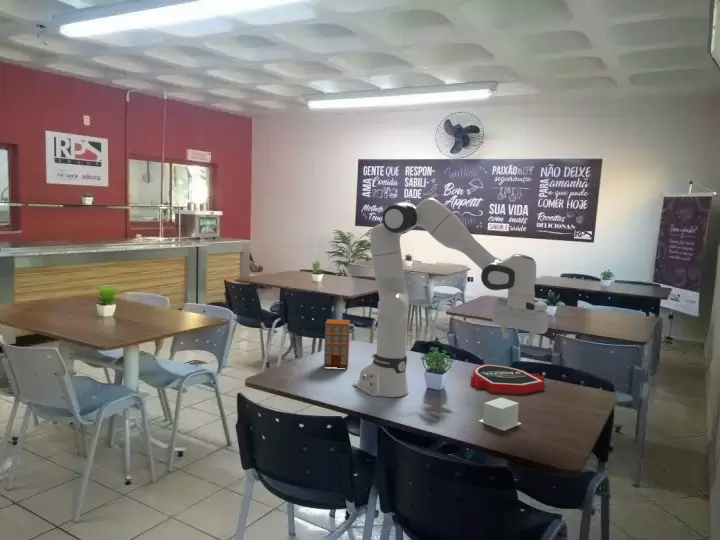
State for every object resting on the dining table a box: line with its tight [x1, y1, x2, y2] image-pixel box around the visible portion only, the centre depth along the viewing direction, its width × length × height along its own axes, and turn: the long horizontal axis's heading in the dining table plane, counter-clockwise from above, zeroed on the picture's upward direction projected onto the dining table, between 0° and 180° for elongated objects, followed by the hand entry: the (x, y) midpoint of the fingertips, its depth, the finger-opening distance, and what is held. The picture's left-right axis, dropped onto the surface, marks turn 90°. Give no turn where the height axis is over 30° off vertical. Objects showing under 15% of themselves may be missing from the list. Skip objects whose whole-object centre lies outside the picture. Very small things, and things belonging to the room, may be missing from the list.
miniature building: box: [323, 318, 351, 370], centre depth 242 cm, size 10×9×20 cm
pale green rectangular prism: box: [482, 397, 520, 429], centre depth 185 cm, size 7×10×7 cm
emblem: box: [470, 363, 545, 395], centre depth 231 cm, size 30×4×30 cm
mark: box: [478, 418, 522, 432], centre depth 186 cm, size 10×10×1 cm
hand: (517, 341), depth 193 cm, fingers open, 8 cm apart
